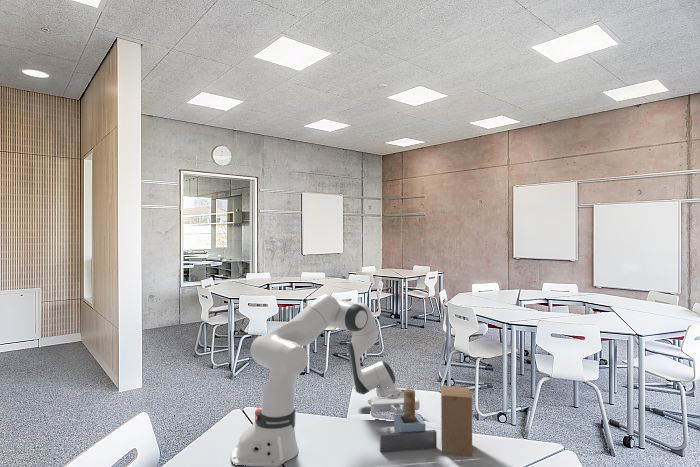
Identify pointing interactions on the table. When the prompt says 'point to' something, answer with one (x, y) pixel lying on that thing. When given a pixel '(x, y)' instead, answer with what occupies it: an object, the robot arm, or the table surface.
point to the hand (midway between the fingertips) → (399, 411)
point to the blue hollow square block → (408, 424)
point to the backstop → (407, 440)
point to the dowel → (409, 406)
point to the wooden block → (456, 420)
